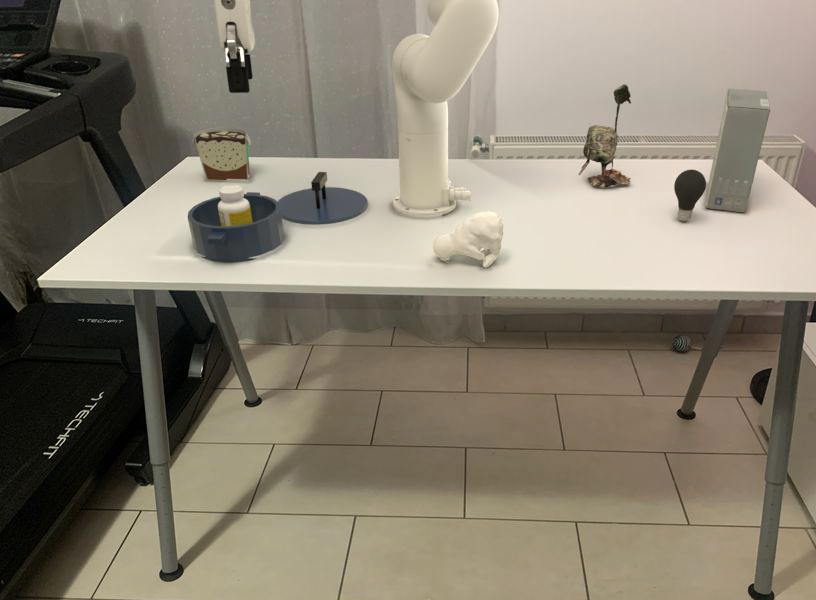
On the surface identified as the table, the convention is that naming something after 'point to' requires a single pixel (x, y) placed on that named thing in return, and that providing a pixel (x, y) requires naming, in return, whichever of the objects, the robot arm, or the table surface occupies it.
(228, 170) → the food container
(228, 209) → the supplement bottle
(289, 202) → the lid
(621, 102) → the bird figurine
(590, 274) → the table surface
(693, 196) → the light bulb
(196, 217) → the pot
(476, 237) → the white lumpy rounded piece
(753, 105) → the hard drive box
